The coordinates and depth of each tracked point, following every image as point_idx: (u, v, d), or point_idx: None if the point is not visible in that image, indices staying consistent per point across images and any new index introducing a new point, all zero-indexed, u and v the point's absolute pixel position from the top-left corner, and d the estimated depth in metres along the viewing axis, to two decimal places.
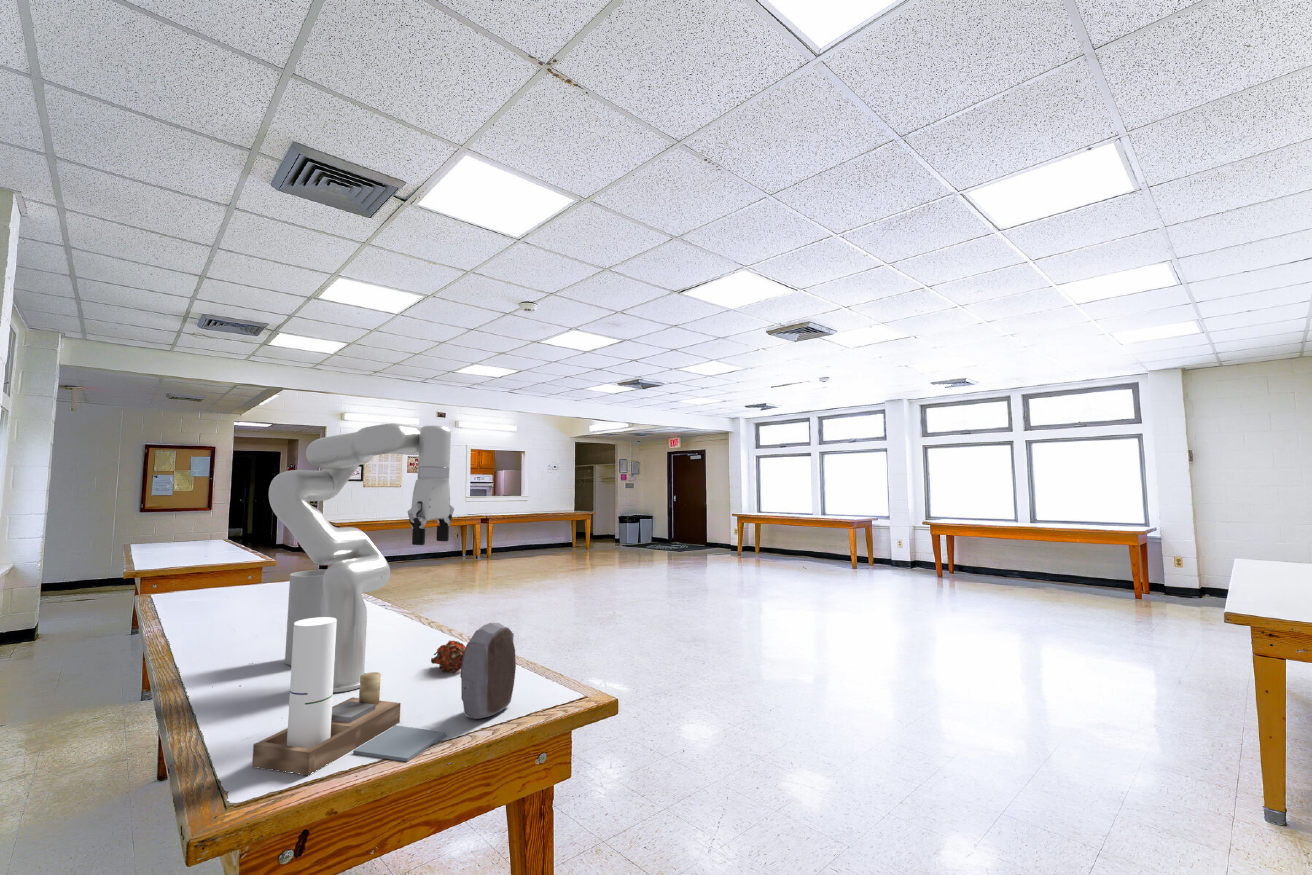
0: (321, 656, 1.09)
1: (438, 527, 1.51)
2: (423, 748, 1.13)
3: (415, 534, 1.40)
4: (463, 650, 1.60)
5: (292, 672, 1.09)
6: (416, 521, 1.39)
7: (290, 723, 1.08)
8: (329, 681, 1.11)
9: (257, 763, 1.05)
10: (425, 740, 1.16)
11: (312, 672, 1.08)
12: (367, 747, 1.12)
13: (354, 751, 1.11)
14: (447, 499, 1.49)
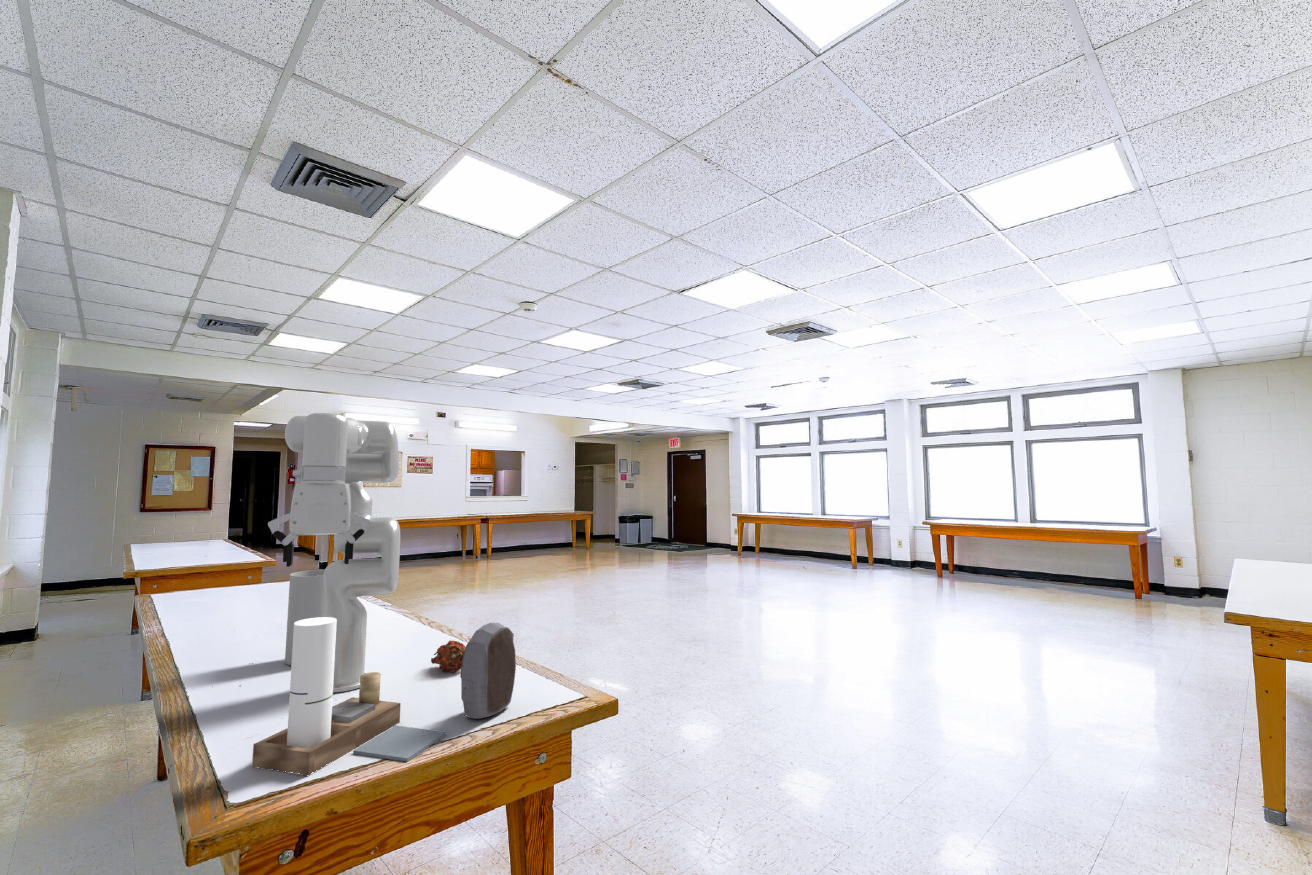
0: (321, 656, 1.09)
1: (292, 547, 1.10)
2: (423, 748, 1.13)
3: (353, 550, 1.15)
4: (463, 650, 1.60)
5: (292, 672, 1.09)
6: None
7: (290, 723, 1.08)
8: (329, 681, 1.11)
9: (257, 763, 1.05)
10: (425, 740, 1.16)
11: (312, 672, 1.08)
12: (367, 747, 1.12)
13: (354, 751, 1.11)
14: None
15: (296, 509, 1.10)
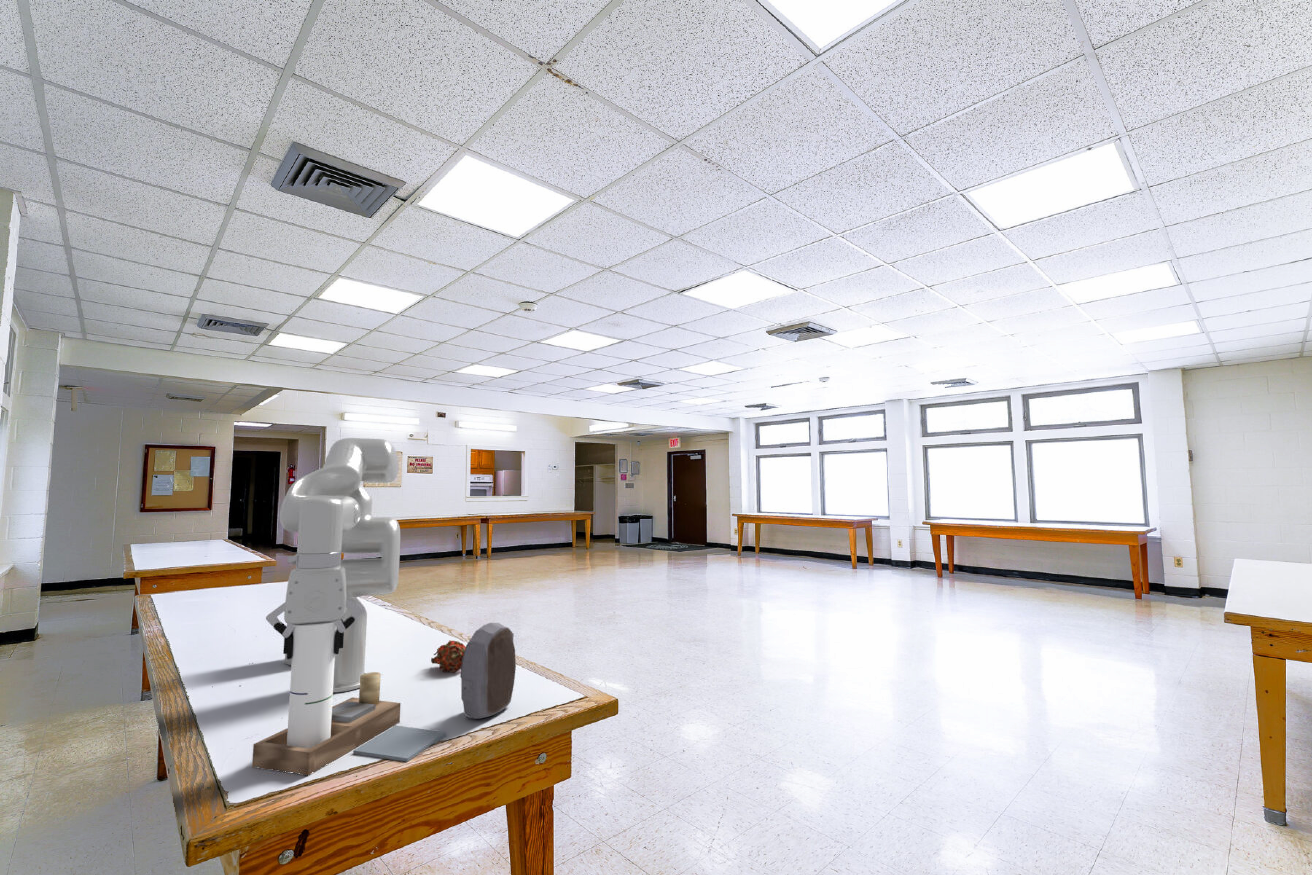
0: (321, 656, 1.09)
1: (292, 639, 1.09)
2: (423, 748, 1.13)
3: (343, 638, 1.14)
4: (463, 650, 1.60)
5: (292, 672, 1.09)
6: None
7: (290, 723, 1.08)
8: (329, 681, 1.11)
9: (257, 763, 1.05)
10: (425, 740, 1.16)
11: (312, 672, 1.08)
12: (367, 747, 1.12)
13: (354, 751, 1.11)
14: None
15: (291, 598, 1.08)
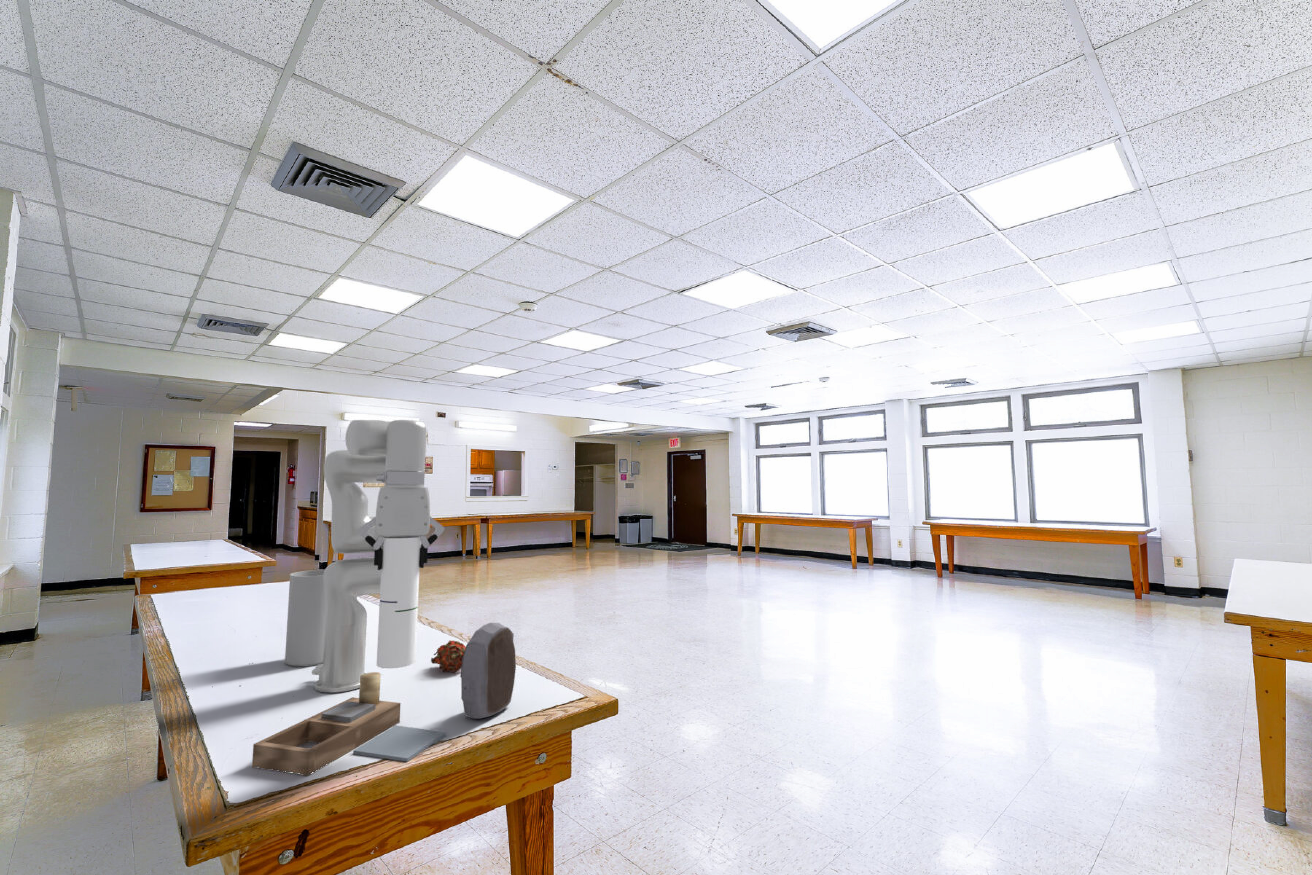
0: (409, 568, 1.16)
1: None
2: (423, 748, 1.13)
3: None
4: (463, 650, 1.60)
5: (382, 582, 1.15)
6: None
7: (381, 629, 1.14)
8: (416, 592, 1.17)
9: (257, 763, 1.05)
10: (425, 740, 1.16)
11: (401, 582, 1.15)
12: (367, 747, 1.12)
13: (354, 751, 1.11)
14: None
15: (381, 512, 1.15)
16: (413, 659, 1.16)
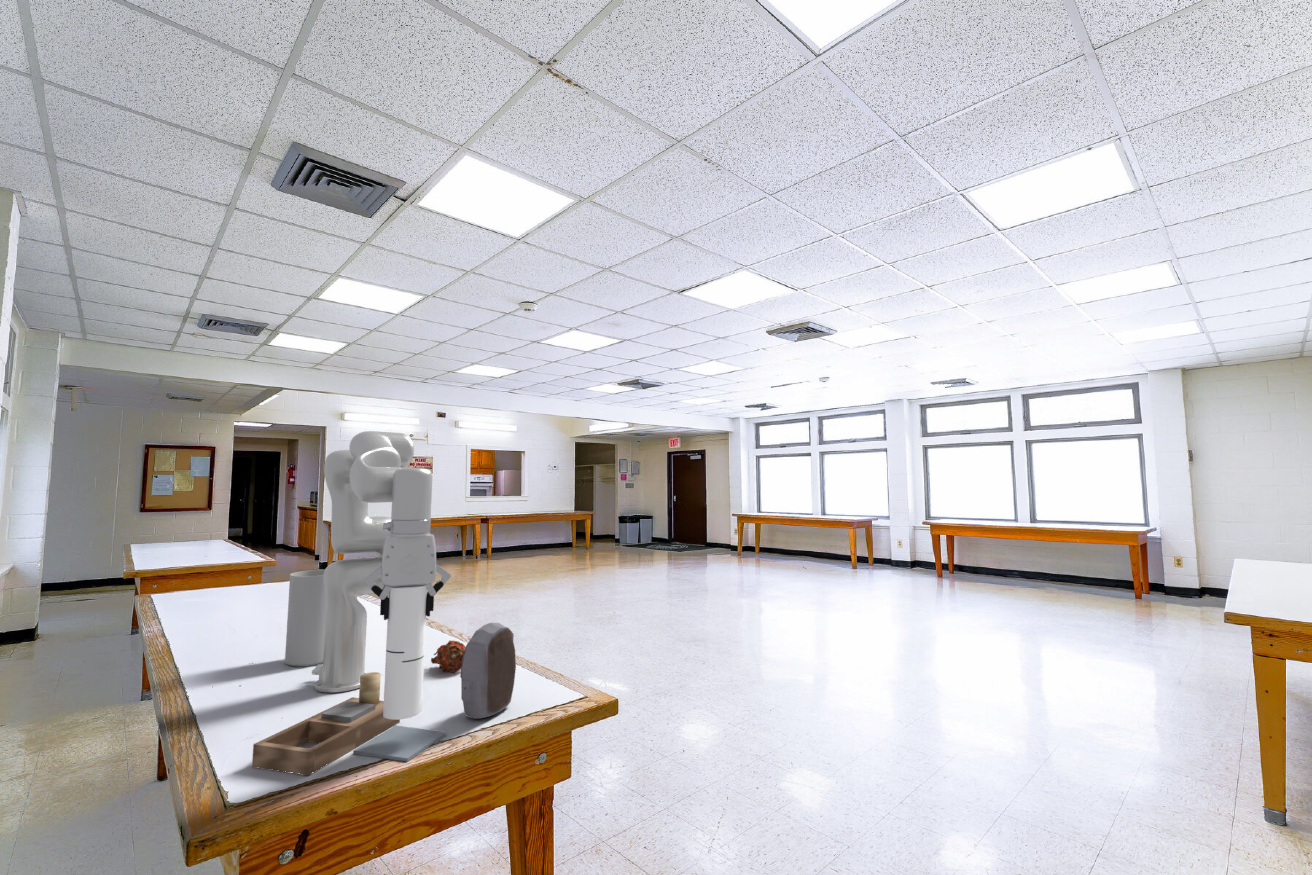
0: (415, 617, 1.15)
1: (388, 601, 1.15)
2: (423, 748, 1.13)
3: None
4: (463, 650, 1.60)
5: (389, 632, 1.15)
6: None
7: (388, 680, 1.14)
8: (422, 641, 1.17)
9: (257, 763, 1.05)
10: (425, 740, 1.16)
11: (408, 632, 1.14)
12: (367, 747, 1.12)
13: (354, 751, 1.11)
14: None
15: (388, 562, 1.14)
16: (420, 708, 1.16)
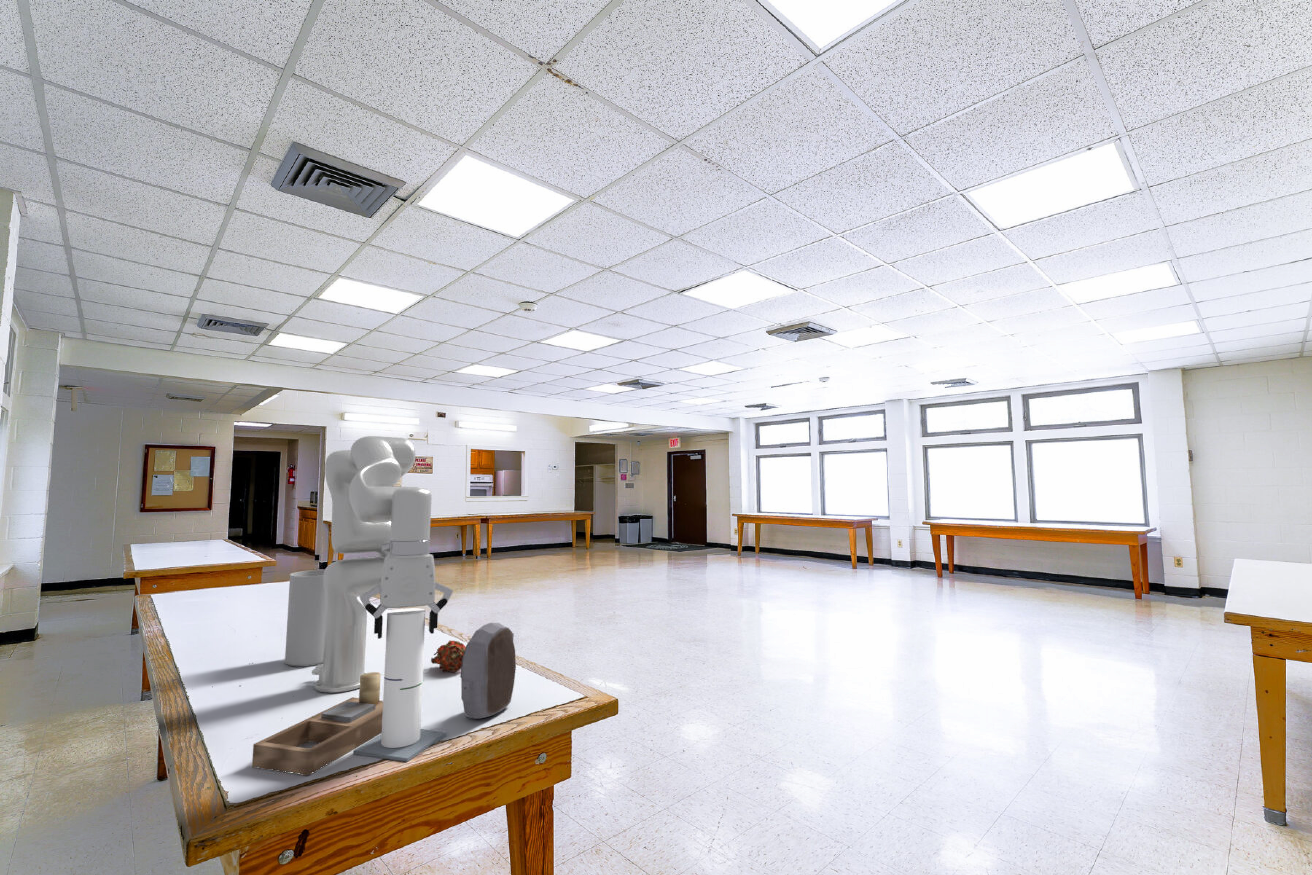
0: (414, 644, 1.15)
1: (382, 619, 1.15)
2: (423, 748, 1.13)
3: None
4: (463, 650, 1.60)
5: (387, 659, 1.15)
6: None
7: (386, 707, 1.14)
8: (420, 668, 1.17)
9: (257, 763, 1.05)
10: (425, 740, 1.16)
11: (406, 659, 1.14)
12: (367, 747, 1.12)
13: (354, 751, 1.11)
14: None
15: (387, 583, 1.14)
16: (418, 736, 1.16)
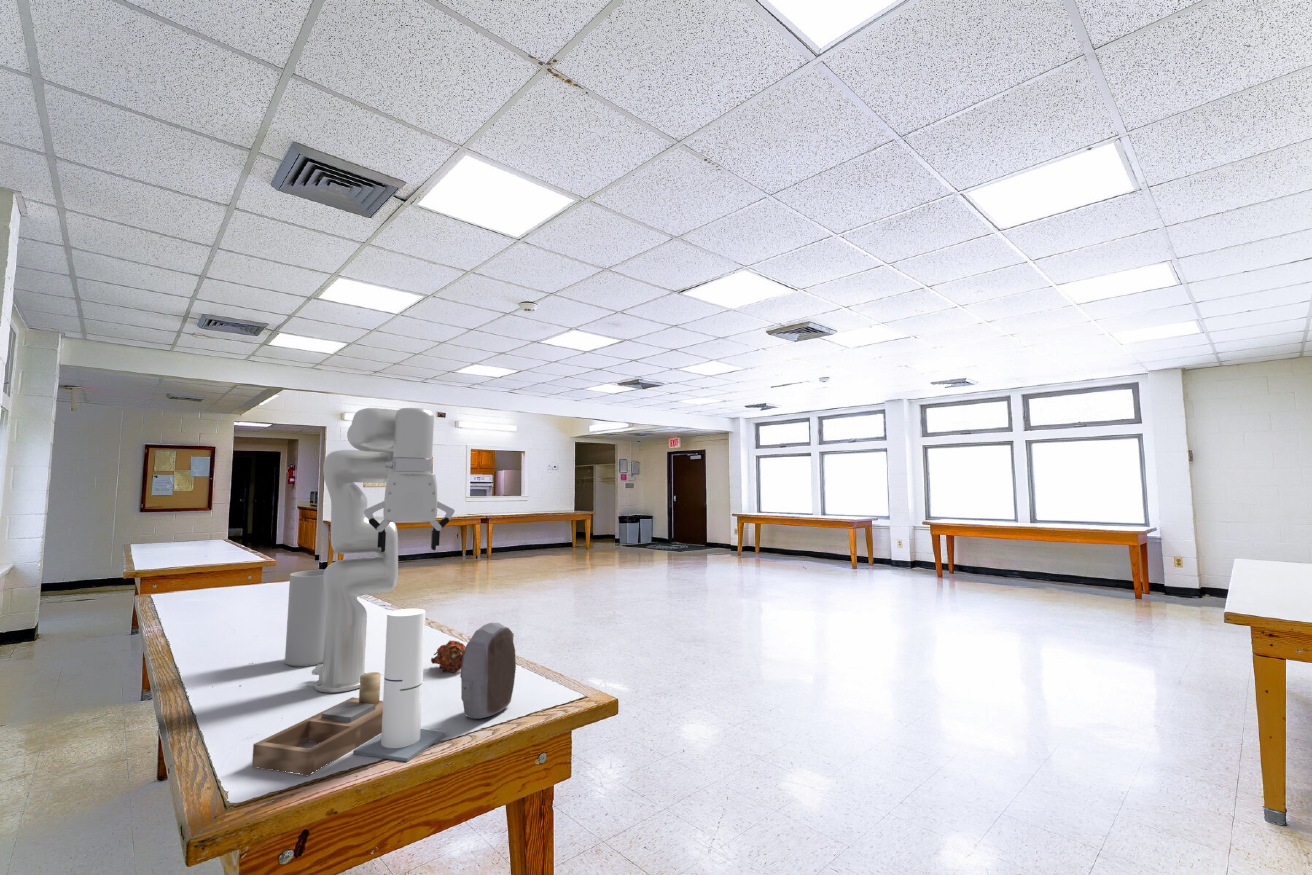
0: (414, 645, 1.15)
1: (385, 534, 1.17)
2: (423, 748, 1.13)
3: None
4: (463, 650, 1.60)
5: (387, 660, 1.14)
6: None
7: (386, 708, 1.13)
8: (420, 669, 1.17)
9: (257, 763, 1.05)
10: (425, 740, 1.16)
11: (406, 660, 1.14)
12: (367, 747, 1.12)
13: (354, 751, 1.11)
14: None
15: (390, 498, 1.17)
16: (418, 736, 1.16)
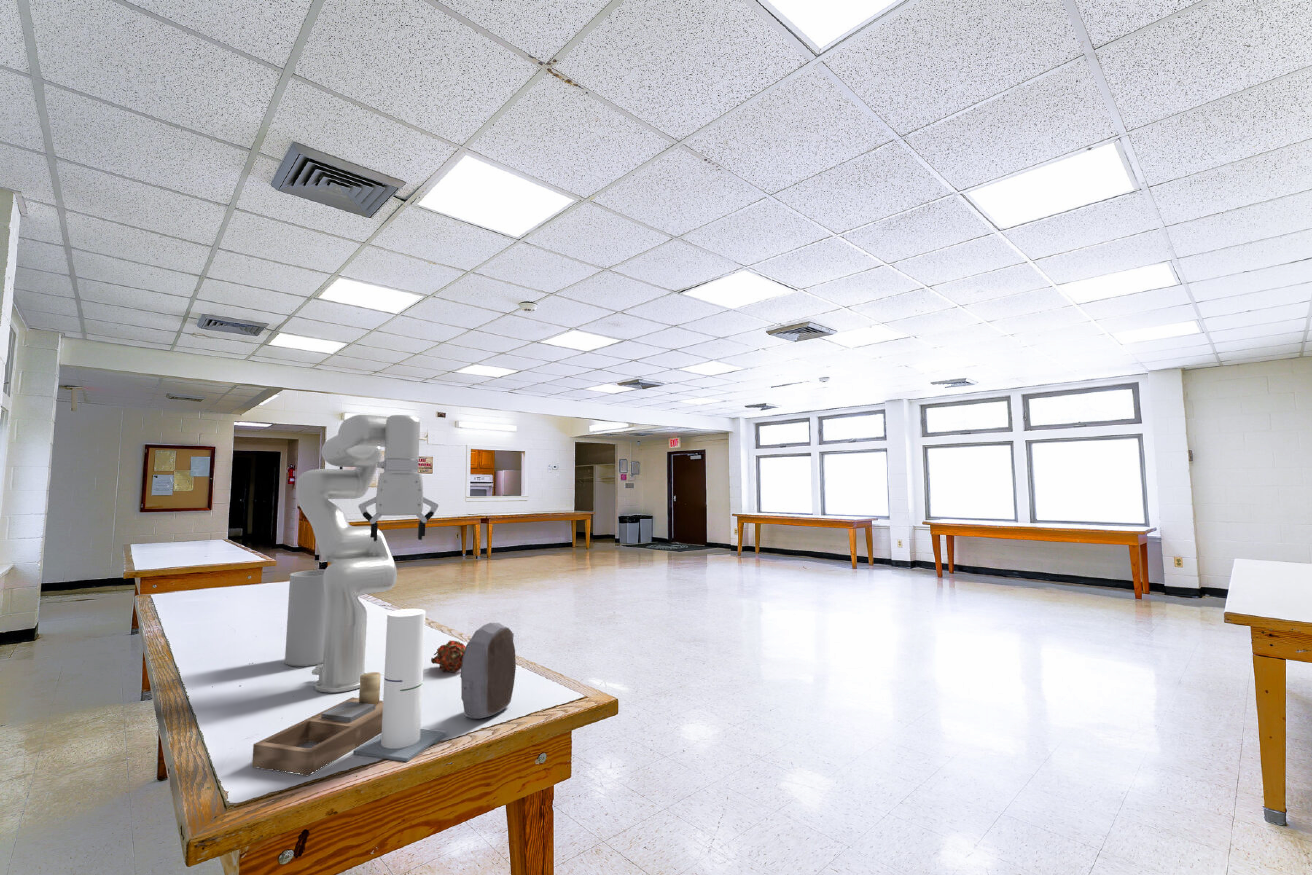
0: (414, 645, 1.15)
1: (377, 525, 1.34)
2: (423, 748, 1.13)
3: None
4: (463, 650, 1.60)
5: (387, 660, 1.14)
6: None
7: (386, 708, 1.13)
8: (420, 669, 1.17)
9: (257, 763, 1.05)
10: (425, 740, 1.16)
11: (406, 660, 1.14)
12: (367, 747, 1.12)
13: (354, 751, 1.11)
14: None
15: (381, 494, 1.33)
16: (418, 737, 1.16)
